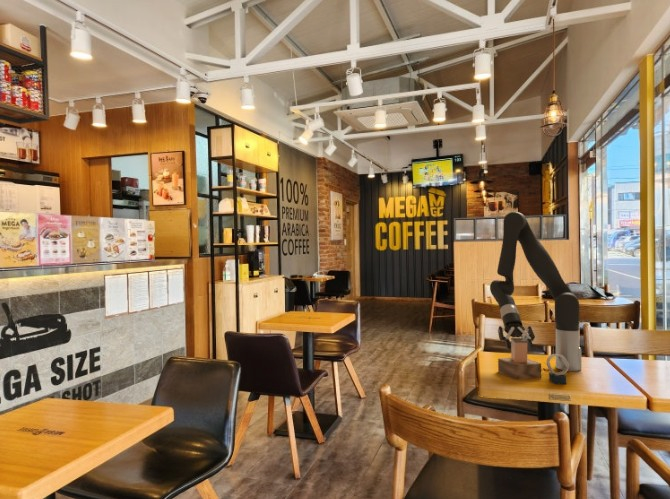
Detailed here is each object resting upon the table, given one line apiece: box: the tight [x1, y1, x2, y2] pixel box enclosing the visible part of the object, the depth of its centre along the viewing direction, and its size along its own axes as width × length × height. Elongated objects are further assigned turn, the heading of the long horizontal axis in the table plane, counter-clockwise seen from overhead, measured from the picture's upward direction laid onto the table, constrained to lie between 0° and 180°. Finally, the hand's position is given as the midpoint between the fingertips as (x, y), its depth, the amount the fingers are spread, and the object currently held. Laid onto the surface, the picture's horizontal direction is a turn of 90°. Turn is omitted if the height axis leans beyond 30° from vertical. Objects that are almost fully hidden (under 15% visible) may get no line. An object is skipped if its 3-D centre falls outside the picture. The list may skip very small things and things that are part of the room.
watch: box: [546, 353, 569, 385], centre depth 180 cm, size 6×8×11 cm
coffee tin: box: [510, 337, 528, 362], centre depth 191 cm, size 5×5×9 cm
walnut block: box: [497, 357, 542, 380], centre depth 191 cm, size 12×12×6 cm
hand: (520, 348), depth 190 cm, fingers open, 8 cm apart
